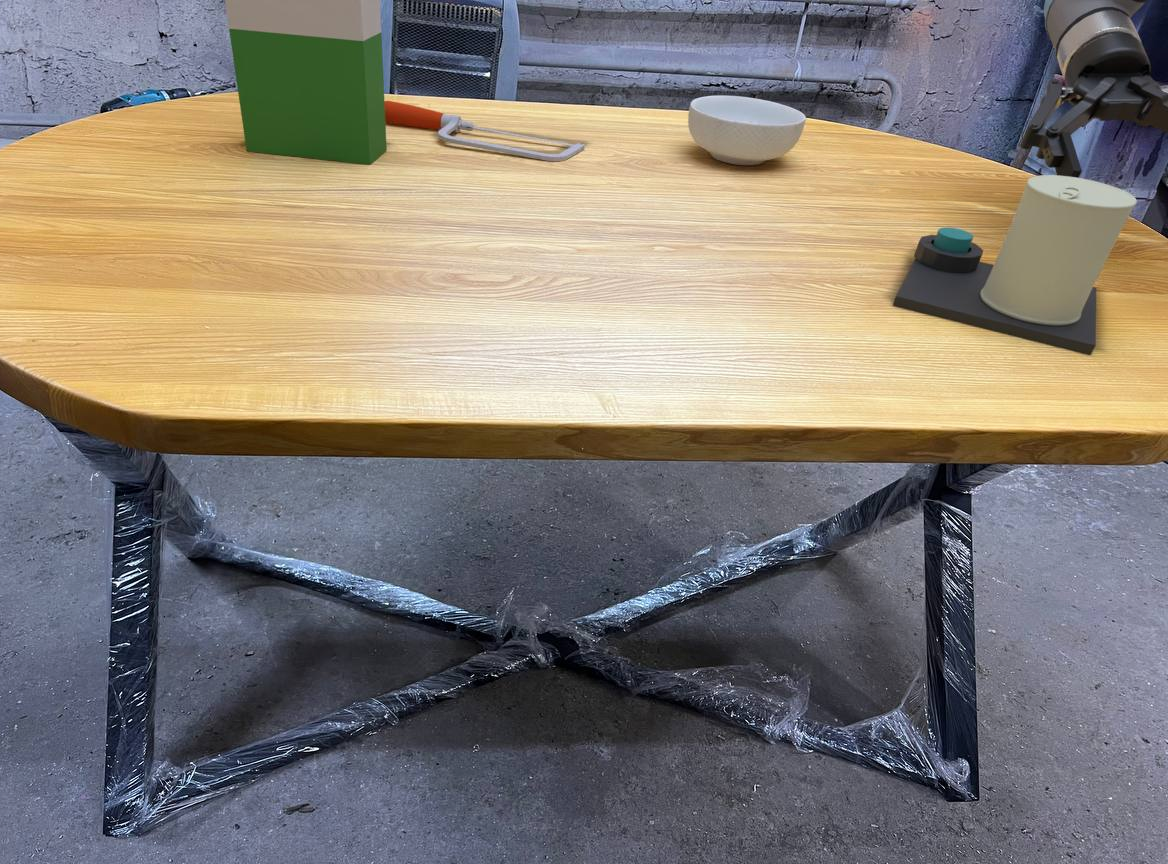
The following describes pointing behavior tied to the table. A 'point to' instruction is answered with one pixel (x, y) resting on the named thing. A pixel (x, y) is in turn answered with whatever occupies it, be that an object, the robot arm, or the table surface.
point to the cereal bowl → (744, 128)
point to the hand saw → (453, 123)
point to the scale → (955, 295)
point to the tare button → (953, 240)
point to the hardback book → (310, 77)
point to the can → (1056, 248)
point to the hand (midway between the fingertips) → (1147, 183)
